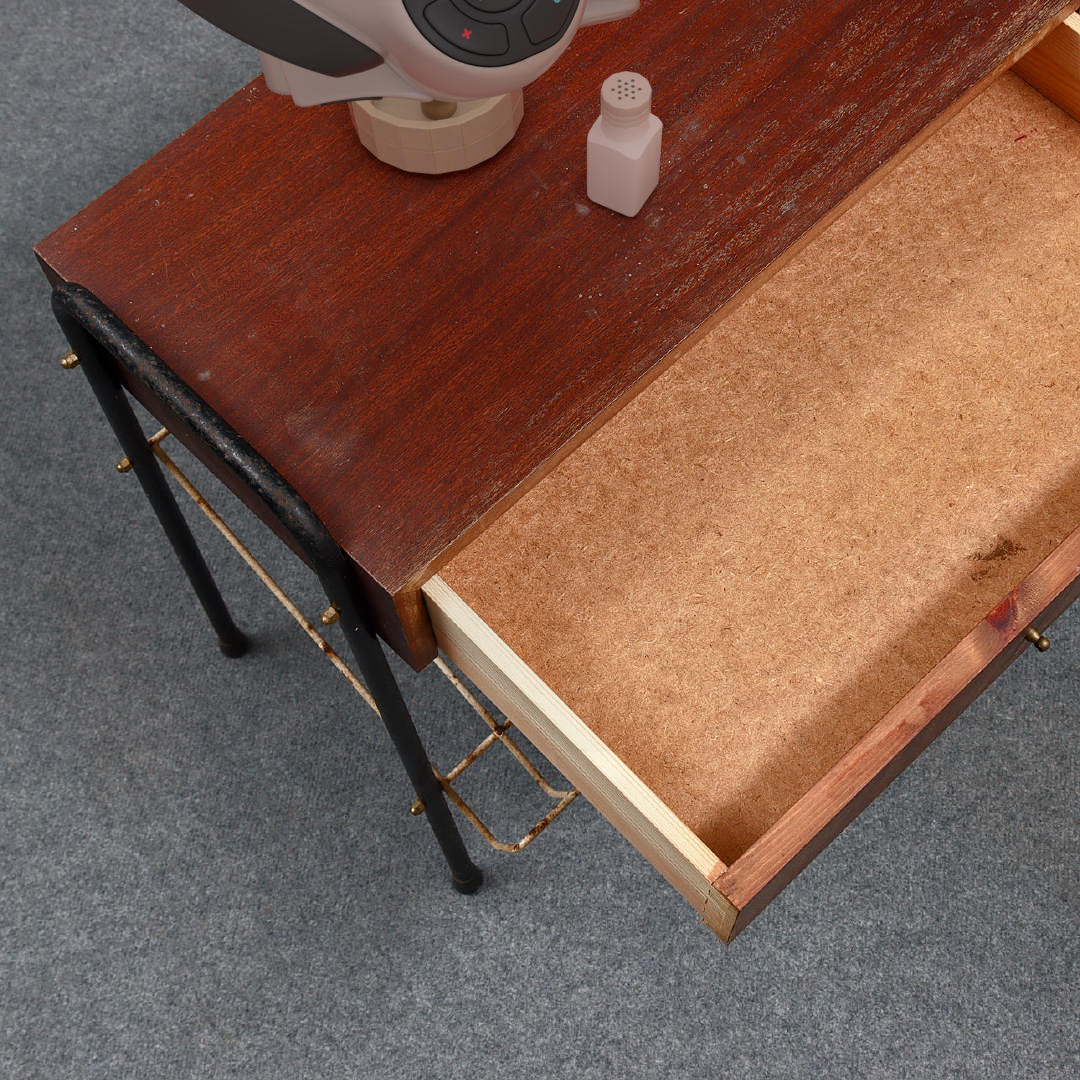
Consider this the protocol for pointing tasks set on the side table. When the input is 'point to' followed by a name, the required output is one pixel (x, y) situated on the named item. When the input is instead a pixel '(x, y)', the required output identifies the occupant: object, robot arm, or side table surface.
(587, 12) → the robot arm
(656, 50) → the side table surface
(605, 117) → the salt shaker
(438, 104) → the stirring stick
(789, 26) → the side table surface
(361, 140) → the bowl
